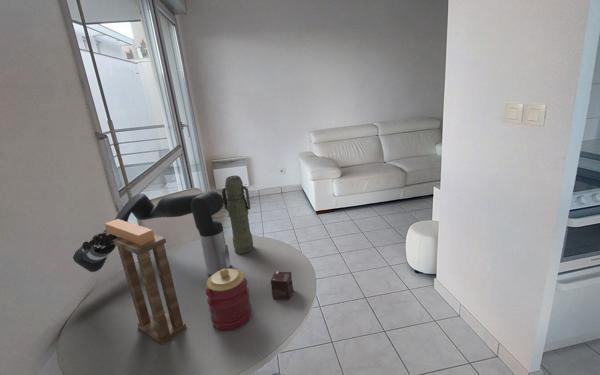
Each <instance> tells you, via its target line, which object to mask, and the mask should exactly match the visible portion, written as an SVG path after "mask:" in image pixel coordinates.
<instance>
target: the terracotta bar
mask: <svg viewBox="0 0 600 375" xmlns="http://www.w3.org/2000/svg"><path fill="white" fill-rule="evenodd" d="M104 227H105V230H107V233H110V234H112V235H115V236H117V237H120V238H123V239H125V240H128V241H131V242H133V243H136V244H138V245H144V244H146V243H148V242H150V241H152V240H155V238H154V234H155V233H154V230H153V229H151V228H148V227H145V226H141V225H138V224H135V223H132V222H129V221H128V222H126V221H123V220H120V219H116V220H114V219H113V220H112V221H108V222H104Z"/></svg>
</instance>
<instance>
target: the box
mask: <svg viewBox="0 0 600 375" xmlns="http://www.w3.org/2000/svg"><path fill="white" fill-rule="evenodd" d="M270 286H271V293H272V299H275V300H290V299H291V298H292V297H291V296H292V294H293V291H294V284H293V277H292V272H291V271H275V272H274V274H273V275H272V277H271V279H270Z"/></svg>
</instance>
